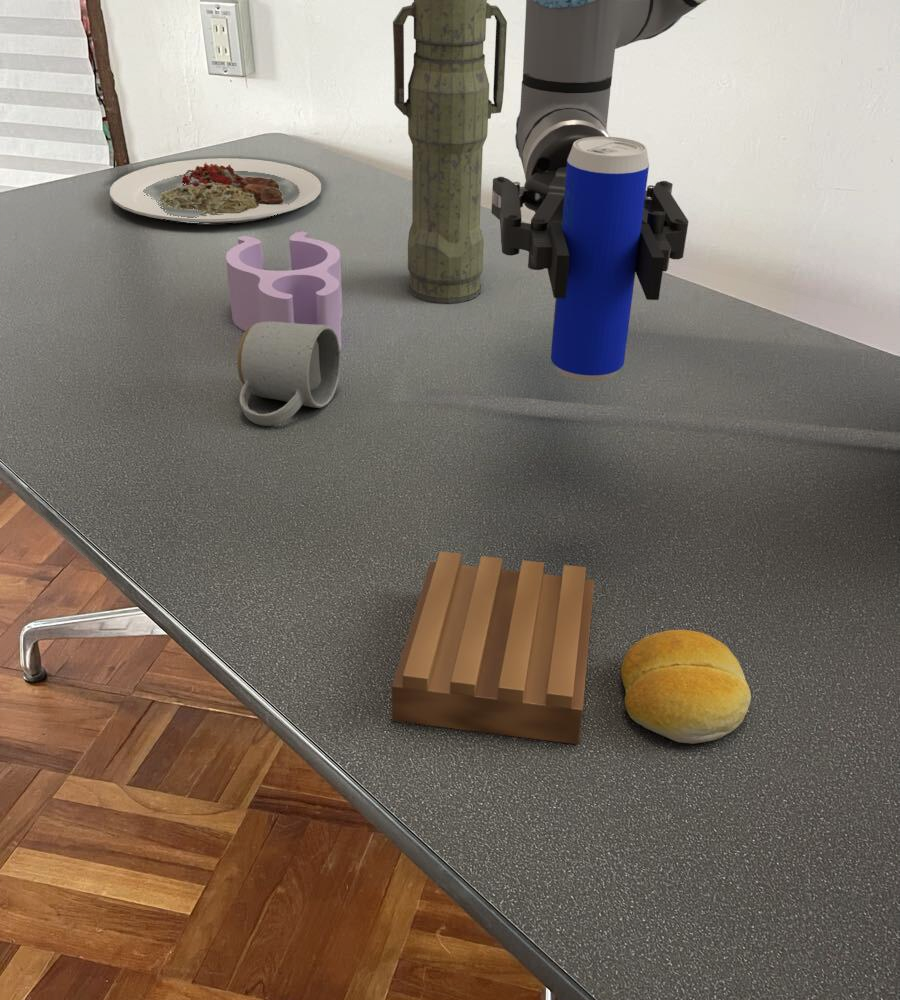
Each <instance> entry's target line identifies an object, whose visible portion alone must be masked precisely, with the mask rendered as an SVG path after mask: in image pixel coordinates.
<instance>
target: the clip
mask: <svg viewBox="0 0 900 1000" xmlns="http://www.w3.org/2000/svg"><path fill="white" fill-rule="evenodd" d="M308 233H309V232H307V231H296V232H295V233H294V234H292V235H290V237H289V240H288V241H289V253H290V254H289V255H290V270H269V269H265V267H264V266H265V264H264V255H263V253H264V252H263V243H262V240H260V239H259V238H256V237H253V236H248V235H241V236H238V237H237V244H236V245H235V246H233V247H232V248H230V249H229V250H228V251H227V253H226V255H225V263H226V273H227V281H228V282H227V283H228V291H229V301H230V310H231V319H232V322H233V325H235V326H236V327H237V328H238V329H239V330H242V331H244V332H245V331H246V330H247V329H248V328H249V327H250V326H251V325H253V324H255V323H259V322H268V321H272V322H285V323H297V324H314V325H326V326H329V327H331V328H332V329H333V330H334V332H335V333H336V335H337V337H338V342H339V346H340V352H341V350H342V348H343V345H342V344H343V341H342V319H343V316H344V315H343V314H344V313H343V312H344V311H343V292H342V291H343V290H342V266H341V265H342V263H341V262H342V261H341V251H340V250H339V248H338V247H336V246H335V245H333V244H331V243H329V242H327V241H324V240H320V239H316V238H312V237H309V235H308Z"/></svg>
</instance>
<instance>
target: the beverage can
mask: <svg viewBox="0 0 900 1000" xmlns="http://www.w3.org/2000/svg"><path fill="white" fill-rule="evenodd" d="M649 168H650V161H649V155H648V149H647V147H646V145H645V144H643V143H642V142H639V141H636V140H634V139H629V138H624V137H617V136H610V137H588V138H582V139H579V140H577V141H575V142H574V143H573V146H572V149H571V151H570V154H569V157H568V159H567V169H566V181H565V193H564V205H563V217H562V230H563V234H564V237H565V241H566V244H567V248H568V252H569V255H570V257H569V268H568V279H567V290H566V298H555V300H554V301H555V302H554V312H553V313H554V314H553V326H552V337H551V350H550V361H551V362H552V364H553V366H554V368H555V370H556V371H557V372H558V373H559V374H560V375H562V376H564V377H566V378H569V379H571V380H575V381H581V382H602V381H605V380H608V379H611V378H613V377H614V376H615V375H617V373H618V372H619V371H620V370H622V368H623V367H624V364H625V356H626V350H627V342H628V335H629V334H628V333H629V325H630V319H631V310H632V302H633V295H634V286H635V279H636V264H637V256H638V248H639V240H640V233H641V225H642V217H643V209H644V201H645V193H646V191H647V187H648V177H649V170H650V169H649Z"/></svg>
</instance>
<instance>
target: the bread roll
mask: <svg viewBox="0 0 900 1000" xmlns="http://www.w3.org/2000/svg"><path fill="white" fill-rule="evenodd" d="M620 673H621V680H622V683H623V687H624V690H625V696H624V705H625V709H626V711H627V714H628V715H629V717H630V718H631V720H633V721H634V723H637V724H638V725H640V726H642V727H643V728H644V729H647V730H649V731H651V732H653V733H656V734H658V735H660V736H662V737H665V738H667V739H670V740H672V741H674V742H677V743H683V744H684V743H685V744H693V745H694V744H701V743H707V742H712V741H716V740H719V739H721V738H723V737H724V736H726V735H728V734H731V732H734V730H736V729H737V728H738V727H740V725H741V724H742V723H743V721H744V720H745V717H746V715H747V713H748V711H749V707H750V705H751V700H752V695H751V694H752V693H751V690H750V687H749V685H748V683H747V679H746V676H745V674H744V671H743V668H742V667H741V665H740V662H739V660H738V659H737V657H736V656H735V655H734V654H733V652H732V651H731V650H730V648H728V646H727V645H726V644H724V643H723V642H721V641H720V640H718V639H716V638H714V637H713V636H710V635H708V634H706V633H704V632H702V631H696V630H688V629H670V630H664V631H660V632H656V633H652V634H650V635H647V636H645V637H642V638H641V639H639V640H638V641H636V642H635V643H634V644H633V645H631V646H630V648H629V649H628V650H627V652H626V654H625V656H624V658H623V660H622V664H621V667H620Z"/></svg>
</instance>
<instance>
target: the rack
mask: <svg viewBox="0 0 900 1000" xmlns="http://www.w3.org/2000/svg"><path fill="white" fill-rule="evenodd" d="M462 555H463V554H462V553H460V552H451V551H443V550H440V551H439V553H438V556H437V560H436V561H430V562H429V565H428V567H427V571H426V575H425V578H424V581H423V584H422V588H421V591H420V593H419V597H418V600H417V602H416V603H417V604H416V605H415V610H414V613H413V616H412V620H411V623H410V627H409V628H408V632H407V635H406V640H405V642H404V645H403V649H402V652H401V655H400V659H399V661H398V665H397V667H396V668H397V669H396V672H395V674H394V679H393V682H392V684H391V716H392V717H391V718H392V719H391V720H392V722H399V723H400V722H401V723H408V724H414V725H423V726H431V727H438V728H447V729H453V730H461V731H469V732H475V733H476V732H477V733H486V734H493V735H500V736H509V737H516V738H524V739H530V740H531V739H533V740H541V741H548V742H556V743H563V744H571V745H578V744H579V743H580V742H579V741H580V735H581V734H580V733H581V726H582V718H583V710H584V699H585V690H586V678H587V667H588V666H587V665H588V657H589V656H588V655H589V646H590V636H591V635H590V634H591V624H592V623H591V622H592V614H593V613H592V611H593V602H594V600H593V599H594V590H595V579H591V578H586V574H587V573H586V572H587V567H586V566H580V565H570V564H563V568H562V575H555V574H548V573H547V574H546V573H544V571H545V562H543V561H542V562H541V561H532V560H524V559H523V560H521V564H520V569H519V570H511V569H503V561H504V559H503V557H494V556H487V555H486V556H485V555H481V556H480V559H479V561H478V566H475V565H465V564H462V557H463V556H462Z"/></svg>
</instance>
